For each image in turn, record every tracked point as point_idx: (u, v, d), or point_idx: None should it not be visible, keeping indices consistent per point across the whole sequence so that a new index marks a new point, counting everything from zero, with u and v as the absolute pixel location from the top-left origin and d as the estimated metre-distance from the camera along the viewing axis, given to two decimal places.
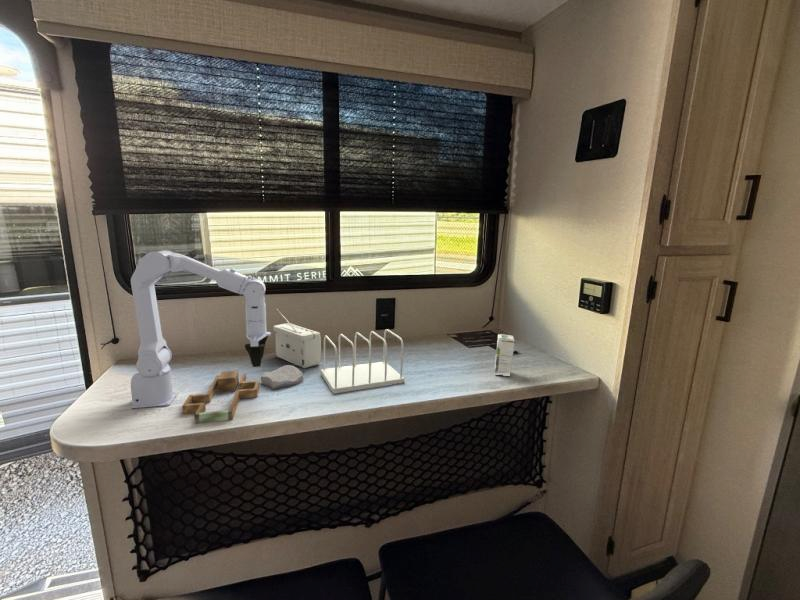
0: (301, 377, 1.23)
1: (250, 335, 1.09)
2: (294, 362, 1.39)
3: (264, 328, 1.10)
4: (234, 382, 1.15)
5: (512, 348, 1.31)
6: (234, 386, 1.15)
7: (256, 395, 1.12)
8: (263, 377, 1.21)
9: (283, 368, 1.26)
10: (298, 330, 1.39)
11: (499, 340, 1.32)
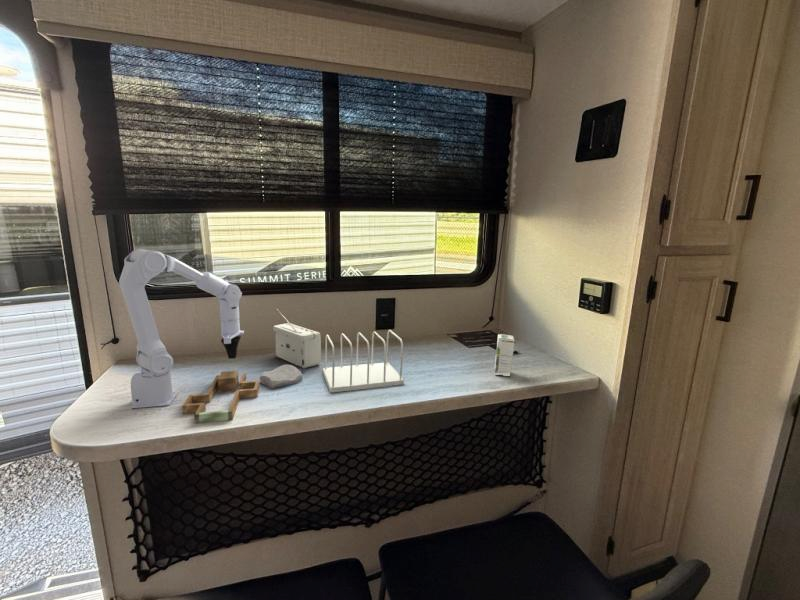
0: (300, 376, 1.24)
1: (224, 333, 1.20)
2: (294, 362, 1.39)
3: (237, 327, 1.22)
4: (234, 382, 1.15)
5: (512, 348, 1.31)
6: (234, 386, 1.15)
7: (256, 395, 1.12)
8: (262, 376, 1.21)
9: (282, 367, 1.26)
10: (298, 330, 1.39)
11: (499, 340, 1.32)
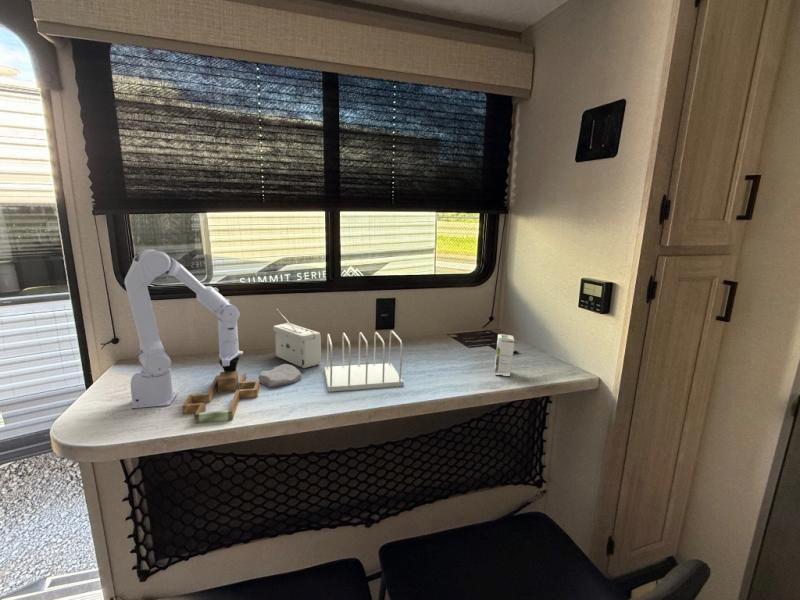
0: (299, 376, 1.24)
1: (222, 355, 1.17)
2: (294, 362, 1.39)
3: (236, 348, 1.19)
4: (234, 382, 1.15)
5: (512, 348, 1.31)
6: (234, 386, 1.15)
7: (256, 395, 1.12)
8: (261, 376, 1.21)
9: (281, 367, 1.27)
10: (298, 330, 1.39)
11: (499, 340, 1.32)
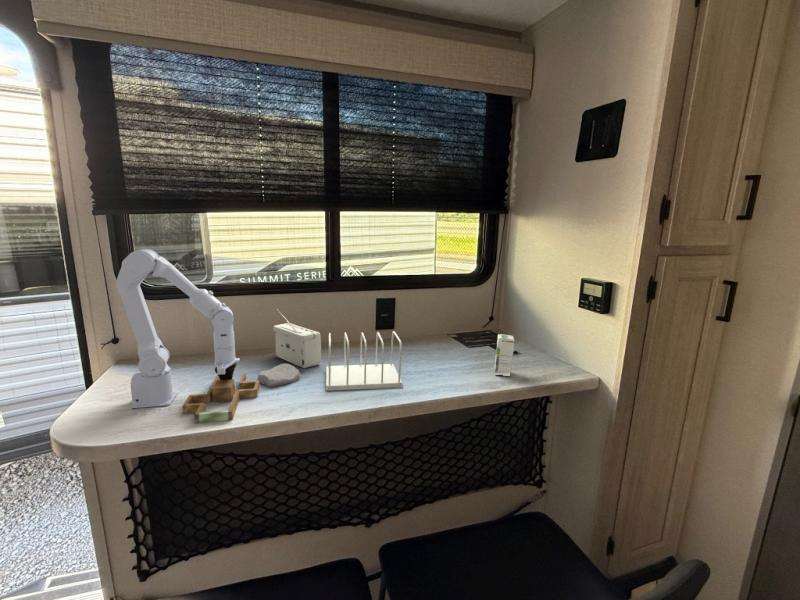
0: (298, 375, 1.25)
1: (218, 362, 1.10)
2: (294, 362, 1.39)
3: (232, 355, 1.12)
4: (230, 392, 1.08)
5: (512, 348, 1.31)
6: (230, 396, 1.08)
7: (256, 395, 1.12)
8: (260, 375, 1.22)
9: (280, 366, 1.27)
10: (298, 330, 1.39)
11: (499, 340, 1.32)
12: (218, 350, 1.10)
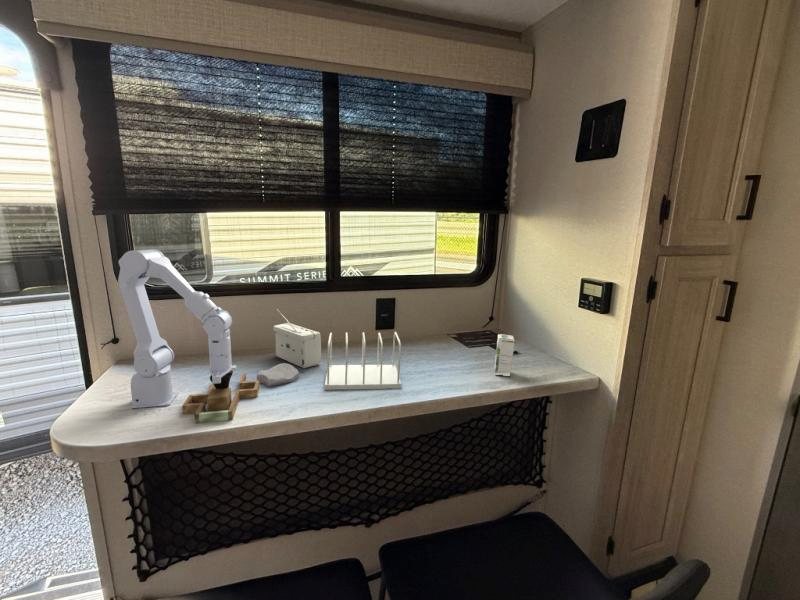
0: (297, 375, 1.25)
1: (213, 370, 1.04)
2: (294, 362, 1.39)
3: (228, 362, 1.06)
4: (226, 402, 1.02)
5: (512, 348, 1.31)
6: (226, 406, 1.02)
7: (256, 395, 1.12)
8: (259, 375, 1.22)
9: (279, 366, 1.27)
10: (298, 330, 1.39)
11: (499, 340, 1.32)
12: (213, 357, 1.03)
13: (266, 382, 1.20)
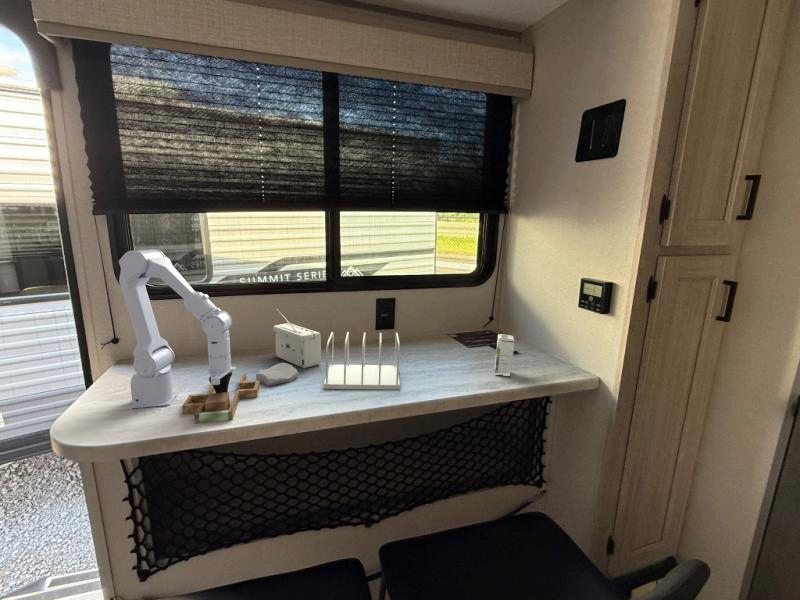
0: (296, 374, 1.26)
1: (212, 371, 1.03)
2: (294, 362, 1.39)
3: (228, 363, 1.05)
4: (224, 406, 0.99)
5: (512, 348, 1.31)
6: None
7: (256, 395, 1.12)
8: (258, 375, 1.23)
9: (278, 366, 1.28)
10: (298, 330, 1.39)
11: (499, 340, 1.32)
12: (212, 358, 1.03)
13: (265, 381, 1.20)
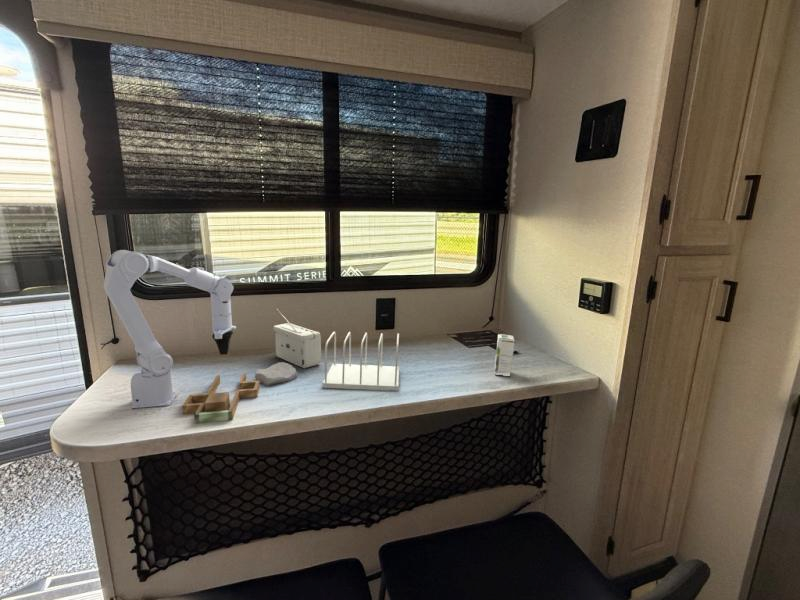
0: (294, 374, 1.26)
1: (215, 328, 1.17)
2: (294, 362, 1.39)
3: (229, 322, 1.18)
4: (224, 406, 0.99)
5: (512, 348, 1.31)
6: None
7: (256, 395, 1.12)
8: (257, 374, 1.23)
9: (277, 365, 1.28)
10: (298, 330, 1.39)
11: (499, 340, 1.32)
12: (215, 317, 1.16)
13: (264, 381, 1.21)
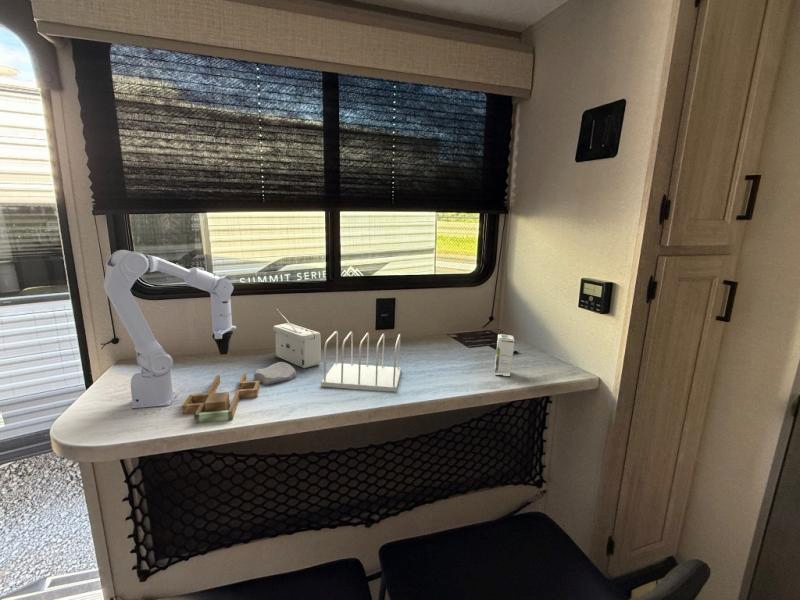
0: (293, 373, 1.26)
1: (215, 328, 1.17)
2: (294, 362, 1.39)
3: (229, 322, 1.18)
4: (224, 406, 0.99)
5: (512, 348, 1.31)
6: None
7: (256, 395, 1.12)
8: (256, 374, 1.23)
9: (276, 365, 1.28)
10: (298, 330, 1.39)
11: (499, 340, 1.32)
12: (215, 317, 1.16)
13: (263, 380, 1.21)
